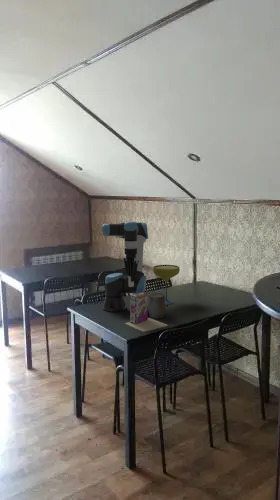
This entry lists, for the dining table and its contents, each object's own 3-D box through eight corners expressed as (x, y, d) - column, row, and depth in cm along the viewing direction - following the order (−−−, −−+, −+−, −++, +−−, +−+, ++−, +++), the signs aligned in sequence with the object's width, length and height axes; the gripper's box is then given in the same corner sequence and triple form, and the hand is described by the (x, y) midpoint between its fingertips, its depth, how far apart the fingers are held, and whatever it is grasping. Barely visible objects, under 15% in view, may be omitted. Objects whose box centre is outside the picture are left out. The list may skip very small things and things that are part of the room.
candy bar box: (136, 324, 260) (135, 296, 258) (129, 322, 263) (129, 295, 261) (148, 319, 268) (148, 293, 266) (142, 318, 272) (142, 292, 269)
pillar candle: (164, 313, 283) (163, 290, 281) (165, 318, 273) (165, 294, 271) (148, 314, 283) (148, 291, 280) (149, 318, 273) (149, 294, 271)
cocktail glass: (154, 298, 319) (154, 264, 316) (180, 299, 317) (180, 264, 313) (151, 305, 302) (151, 269, 298) (178, 306, 299) (178, 269, 295)
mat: (124, 324, 262) (124, 323, 262) (149, 318, 273) (149, 317, 273) (143, 332, 248) (143, 331, 248) (167, 326, 259) (167, 325, 259)
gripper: (119, 247, 269) (119, 285, 272) (132, 249, 258) (132, 289, 262) (129, 246, 273) (129, 283, 277) (142, 248, 263) (142, 287, 266)
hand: (131, 286), depth 269 cm, fingers closed
